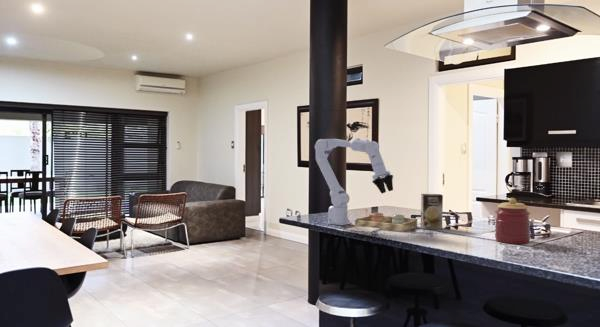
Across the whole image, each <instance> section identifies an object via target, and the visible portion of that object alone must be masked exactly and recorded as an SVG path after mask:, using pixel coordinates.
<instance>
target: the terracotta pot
mask: <svg viewBox="0 0 600 327" xmlns="http://www.w3.org/2000/svg"><path fill="white" fill-rule="evenodd" d="M370 214H371V216H372V222H381V223H382V216H384V213H382V212H372V213H370Z"/></svg>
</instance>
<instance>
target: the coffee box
mask: <svg viewBox="0 0 600 327" xmlns="http://www.w3.org/2000/svg"><path fill="white" fill-rule="evenodd" d="M420 196H421V197H420V228H421V229H422V230H443V207H444V206H443V204H444V203H443V201H444V200H443V198H444V197H443V196H444V195H443V194H439V193H438V194H437V193H421V194H420Z"/></svg>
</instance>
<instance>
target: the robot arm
mask: <svg viewBox="0 0 600 327" xmlns="http://www.w3.org/2000/svg"><path fill="white" fill-rule="evenodd" d="M337 147H343V148H350V149H351V150H352V151H353V152H360V153H361V152H362V153H366V154H368V158H369V161H370V164H371V167H372V170H373V173H374V174H373V175H371V176H372V181H371V182H372V183H373V184H374V185H375V186H376V187H377V189H378V190H379V192H380V193H381V194H385V193H386V192H387V191H388V192H391V191H394V187H393V186H394V185H393V179H394V175H393V174H391V172H390V171H389V170H387V169H386V166H385V162H384V160H383V157H382V155H381V152H380V145H379V143H378V142H377V141H374V140H372V141H370V140H369V139H366V140H362V139H360V138H354V139H353V140H345V139H339V138H324V139H323V138H320V139H319V138H318V140H317V141H316V142H315V144H314V150H315V161H316V163H317V166H318V167H319V169H320V172H321V173H322V176H323V177H324V179H325V182H326V184H327V186H328V189H329V190H330V191H329V196H330V203H331V204H332V205H330V206H329V207H328V212H327V224H329V225H335V226H346V225H349V224H352V222H350V221H349V218H348V217H349V216H348V213H349V212H348V208H349V207H348V203H350V196H349V194H348V193H347V192H346V191H345V189H344V188H343V187H342V186H341V185H340V183H339V181H338V179H337V177H336V175H335V173H334V171H333V169H332V166H331V164H330V162H329V160H328V158H329V154H331V152H332V151H333V150H334V149H335V148H337ZM386 189H387V191H386Z"/></svg>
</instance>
